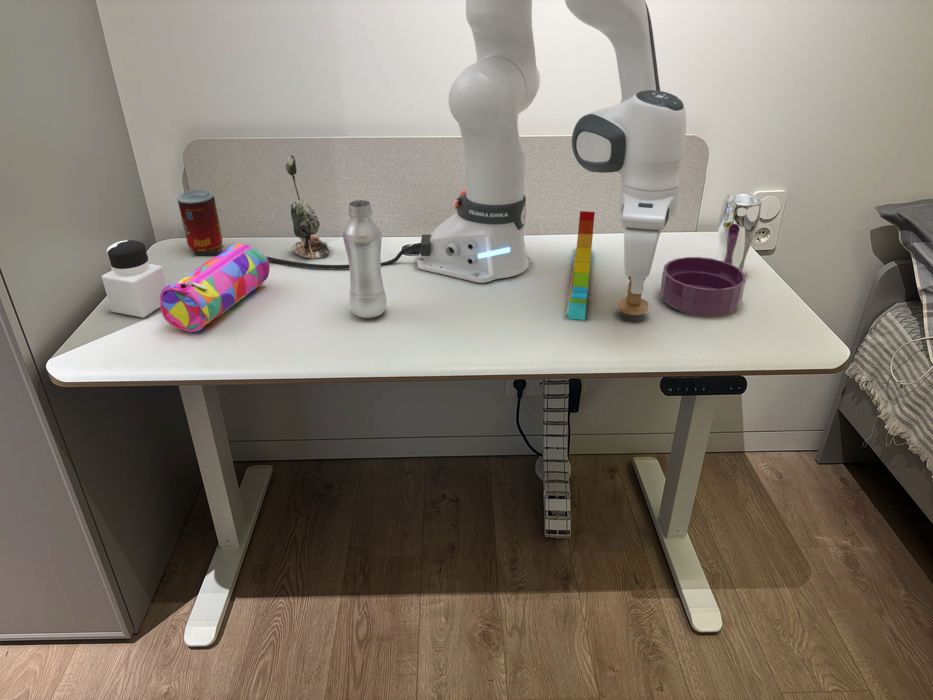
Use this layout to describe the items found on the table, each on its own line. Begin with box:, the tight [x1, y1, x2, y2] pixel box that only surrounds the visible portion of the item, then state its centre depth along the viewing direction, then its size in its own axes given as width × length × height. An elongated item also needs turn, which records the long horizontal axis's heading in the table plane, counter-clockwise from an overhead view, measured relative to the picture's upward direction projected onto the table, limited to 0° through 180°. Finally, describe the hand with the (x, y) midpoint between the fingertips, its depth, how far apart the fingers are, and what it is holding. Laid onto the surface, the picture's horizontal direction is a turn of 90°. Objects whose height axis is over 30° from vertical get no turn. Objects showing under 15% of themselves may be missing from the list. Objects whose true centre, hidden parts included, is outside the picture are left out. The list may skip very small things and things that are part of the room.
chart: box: [566, 210, 596, 321], centre depth 129 cm, size 30×3×15 cm, turn 169°
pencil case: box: [160, 242, 271, 333], centre depth 122 cm, size 22×9×9 cm, turn 163°
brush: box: [616, 276, 649, 323], centre depth 119 cm, size 5×5×9 cm
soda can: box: [177, 189, 223, 256], centre depth 144 cm, size 7×7×12 cm
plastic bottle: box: [342, 199, 388, 319], centre depth 117 cm, size 6×7×20 cm
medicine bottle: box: [101, 239, 168, 319], centre depth 122 cm, size 7×7×12 cm
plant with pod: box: [284, 154, 331, 260], centre depth 140 cm, size 8×11×20 cm
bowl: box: [659, 256, 747, 317], centre depth 125 cm, size 14×14×6 cm
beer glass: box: [715, 193, 763, 275], centre depth 133 cm, size 7×7×15 cm
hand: (639, 280), depth 117 cm, fingers open, 8 cm apart
